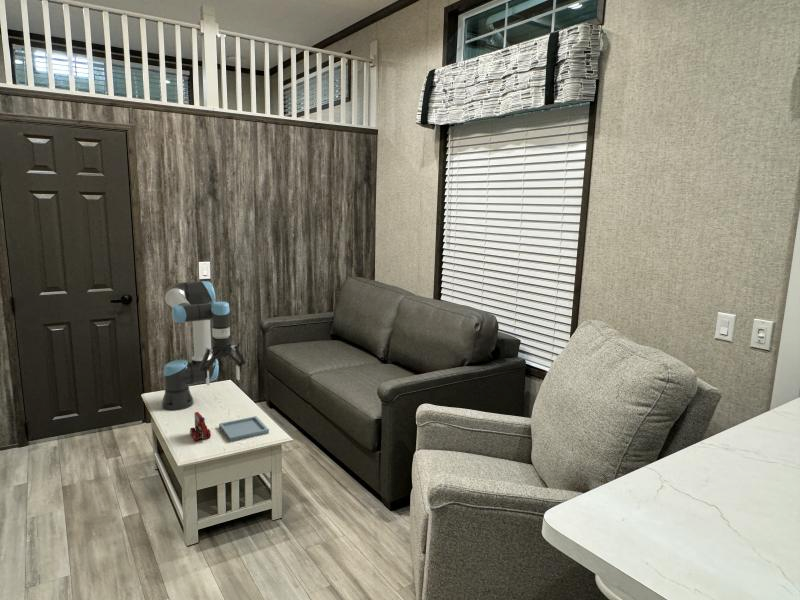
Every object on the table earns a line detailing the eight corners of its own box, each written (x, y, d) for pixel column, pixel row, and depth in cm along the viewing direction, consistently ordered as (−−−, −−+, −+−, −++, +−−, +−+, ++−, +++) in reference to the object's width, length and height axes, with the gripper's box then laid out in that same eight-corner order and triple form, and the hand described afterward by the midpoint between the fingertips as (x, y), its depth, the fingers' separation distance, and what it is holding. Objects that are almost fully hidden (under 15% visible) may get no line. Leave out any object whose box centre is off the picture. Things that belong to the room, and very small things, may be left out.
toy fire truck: (196, 444, 238) (195, 422, 236) (189, 434, 248) (187, 412, 246) (212, 440, 242) (211, 418, 240) (204, 430, 252) (203, 409, 250)
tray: (219, 427, 255) (219, 423, 255) (256, 419, 265) (256, 416, 265) (230, 442, 241) (230, 437, 240) (268, 433, 251) (268, 429, 250)
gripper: (194, 342, 229) (196, 389, 233) (251, 334, 243) (252, 379, 247) (190, 338, 235) (192, 384, 239) (246, 331, 249) (247, 375, 253)
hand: (223, 381), depth 243 cm, fingers open, 13 cm apart
